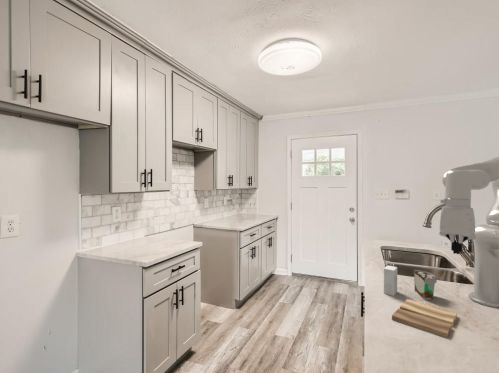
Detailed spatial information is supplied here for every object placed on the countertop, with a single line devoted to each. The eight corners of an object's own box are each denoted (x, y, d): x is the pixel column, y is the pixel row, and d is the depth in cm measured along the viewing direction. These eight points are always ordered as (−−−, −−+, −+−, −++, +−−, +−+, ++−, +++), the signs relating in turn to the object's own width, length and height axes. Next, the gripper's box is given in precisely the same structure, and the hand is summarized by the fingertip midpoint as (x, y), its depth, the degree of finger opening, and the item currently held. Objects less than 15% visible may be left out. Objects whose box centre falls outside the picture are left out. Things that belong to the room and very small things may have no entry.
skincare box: (386, 291, 123) (387, 265, 123) (397, 294, 120) (397, 267, 120) (383, 295, 118) (383, 268, 118) (394, 298, 116) (394, 270, 115)
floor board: (404, 303, 111) (404, 297, 111) (460, 319, 98) (460, 312, 98) (388, 322, 97) (388, 315, 97) (451, 343, 84) (451, 335, 84)
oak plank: (406, 302, 109) (407, 299, 109) (456, 317, 98) (456, 312, 98) (399, 310, 103) (399, 306, 103) (452, 326, 91) (452, 322, 91)
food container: (442, 304, 110) (442, 280, 110) (425, 303, 111) (425, 279, 111) (428, 292, 122) (429, 270, 122) (413, 291, 123) (413, 269, 123)
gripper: (431, 202, 103) (430, 251, 104) (483, 205, 93) (482, 259, 93) (435, 201, 109) (434, 247, 109) (485, 204, 98) (484, 255, 99)
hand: (456, 253), depth 101 cm, fingers closed
